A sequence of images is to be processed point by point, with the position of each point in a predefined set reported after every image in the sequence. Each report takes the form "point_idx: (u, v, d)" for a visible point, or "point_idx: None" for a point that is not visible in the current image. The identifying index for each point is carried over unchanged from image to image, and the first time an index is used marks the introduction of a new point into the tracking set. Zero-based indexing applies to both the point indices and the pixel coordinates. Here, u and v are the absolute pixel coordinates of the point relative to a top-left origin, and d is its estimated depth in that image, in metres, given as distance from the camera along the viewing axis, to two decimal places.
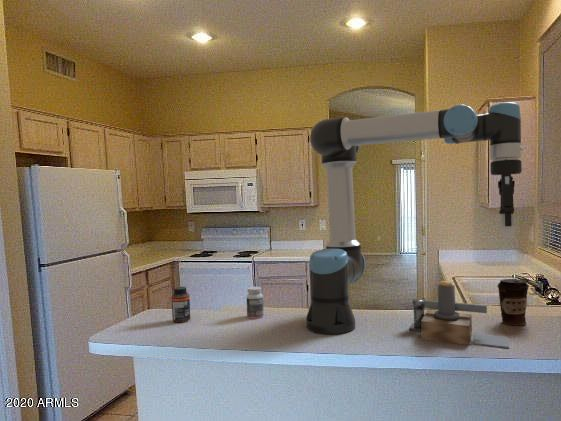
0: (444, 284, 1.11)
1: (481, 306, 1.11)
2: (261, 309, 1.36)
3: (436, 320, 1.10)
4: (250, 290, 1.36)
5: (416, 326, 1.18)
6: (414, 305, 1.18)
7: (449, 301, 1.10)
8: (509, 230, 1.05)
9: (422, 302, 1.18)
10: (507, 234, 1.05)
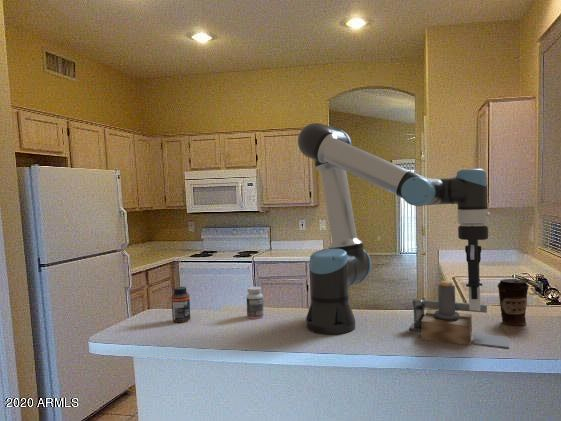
0: (445, 284, 1.11)
1: (481, 306, 1.11)
2: (261, 309, 1.36)
3: (436, 320, 1.10)
4: (250, 290, 1.36)
5: (416, 326, 1.18)
6: (414, 305, 1.18)
7: (449, 301, 1.10)
8: (475, 302, 1.11)
9: (422, 302, 1.18)
10: (473, 306, 1.11)
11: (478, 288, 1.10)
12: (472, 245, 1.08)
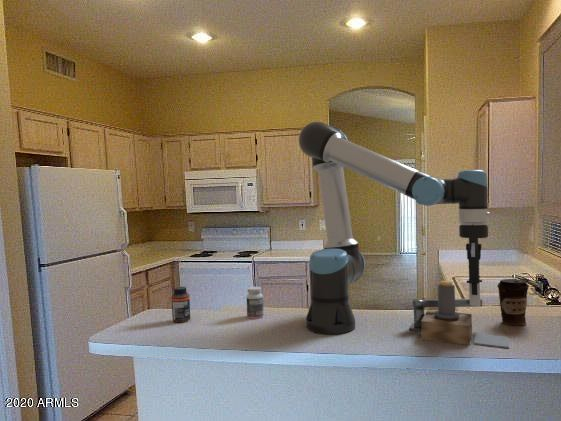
0: (444, 283, 1.11)
1: None
2: (261, 309, 1.36)
3: (436, 320, 1.10)
4: (250, 290, 1.36)
5: (416, 326, 1.18)
6: (416, 305, 1.18)
7: (449, 301, 1.11)
8: (475, 298, 1.15)
9: (424, 302, 1.18)
10: (474, 301, 1.16)
11: (478, 284, 1.15)
12: (473, 243, 1.13)
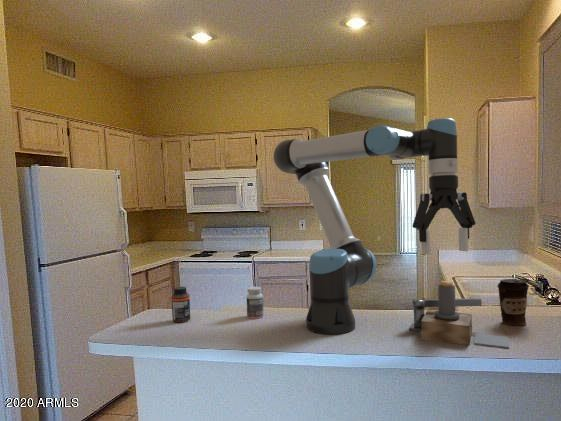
0: (445, 284, 1.11)
1: (476, 300, 1.18)
2: (261, 309, 1.36)
3: (436, 320, 1.10)
4: (250, 290, 1.36)
5: (416, 326, 1.18)
6: (416, 305, 1.18)
7: (449, 301, 1.10)
8: (425, 246, 1.10)
9: (424, 302, 1.18)
10: (424, 249, 1.11)
11: (426, 231, 1.09)
12: None
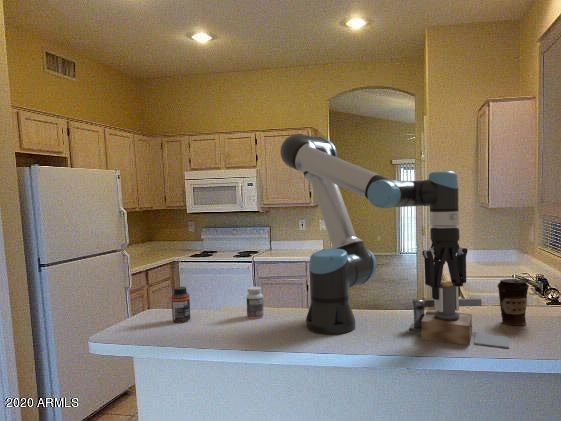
0: (444, 284, 1.11)
1: (476, 300, 1.18)
2: (261, 309, 1.36)
3: (436, 320, 1.10)
4: (250, 290, 1.36)
5: (416, 326, 1.18)
6: (416, 305, 1.18)
7: (449, 301, 1.10)
8: (438, 303, 1.11)
9: (424, 302, 1.18)
10: (437, 306, 1.12)
11: (439, 289, 1.11)
12: (434, 246, 1.11)
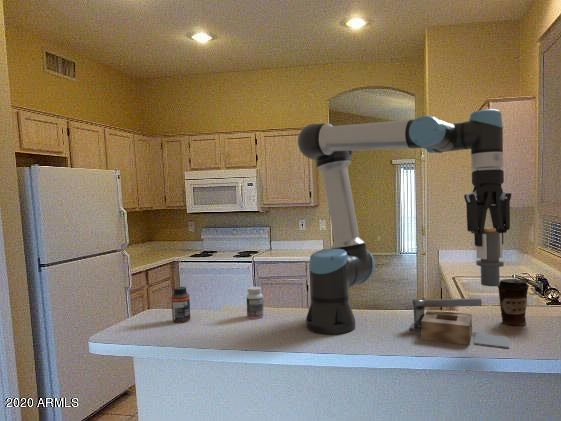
0: (488, 229, 1.05)
1: (476, 300, 1.18)
2: (261, 309, 1.36)
3: (436, 320, 1.10)
4: (250, 290, 1.36)
5: (416, 326, 1.18)
6: (416, 305, 1.18)
7: (493, 247, 1.04)
8: (481, 250, 1.05)
9: (424, 302, 1.18)
10: (480, 254, 1.06)
11: (483, 235, 1.04)
12: (476, 189, 1.05)
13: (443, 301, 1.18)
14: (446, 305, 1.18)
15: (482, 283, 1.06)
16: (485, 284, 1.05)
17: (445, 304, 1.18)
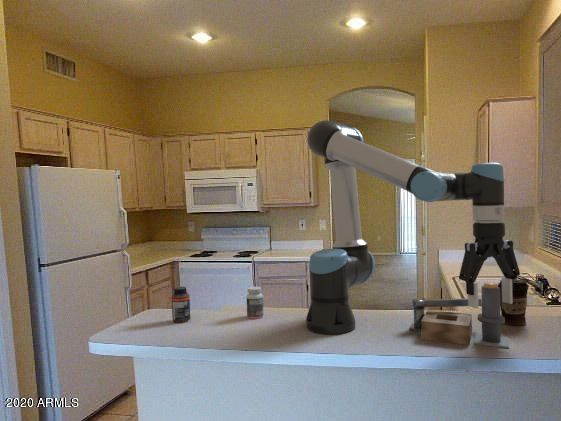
0: (489, 286, 1.05)
1: None
2: (261, 309, 1.36)
3: (436, 320, 1.10)
4: (250, 290, 1.36)
5: (416, 326, 1.18)
6: (416, 305, 1.18)
7: (494, 304, 1.04)
8: (472, 299, 1.05)
9: (424, 302, 1.18)
10: (471, 302, 1.05)
11: (474, 284, 1.04)
12: None
13: (443, 301, 1.18)
14: (446, 305, 1.18)
15: (483, 338, 1.07)
16: (486, 340, 1.06)
17: (445, 304, 1.18)
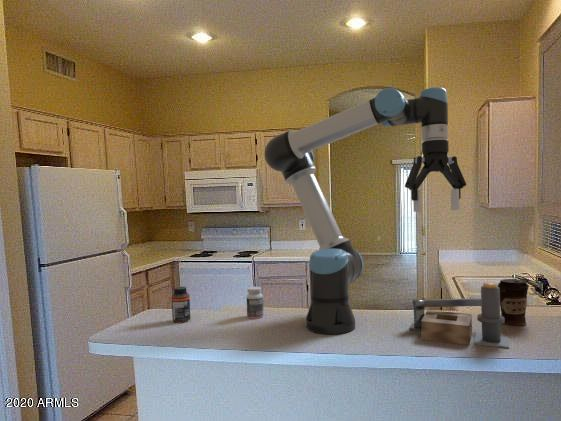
0: (489, 286, 1.05)
1: (476, 300, 1.18)
2: (261, 309, 1.36)
3: (436, 320, 1.10)
4: (250, 290, 1.36)
5: (416, 326, 1.18)
6: (416, 305, 1.18)
7: (494, 304, 1.04)
8: (416, 204, 1.19)
9: (424, 302, 1.18)
10: (415, 207, 1.20)
11: (418, 190, 1.18)
12: None
13: (443, 301, 1.18)
14: (446, 305, 1.18)
15: (483, 338, 1.07)
16: (486, 340, 1.06)
17: (445, 304, 1.18)
